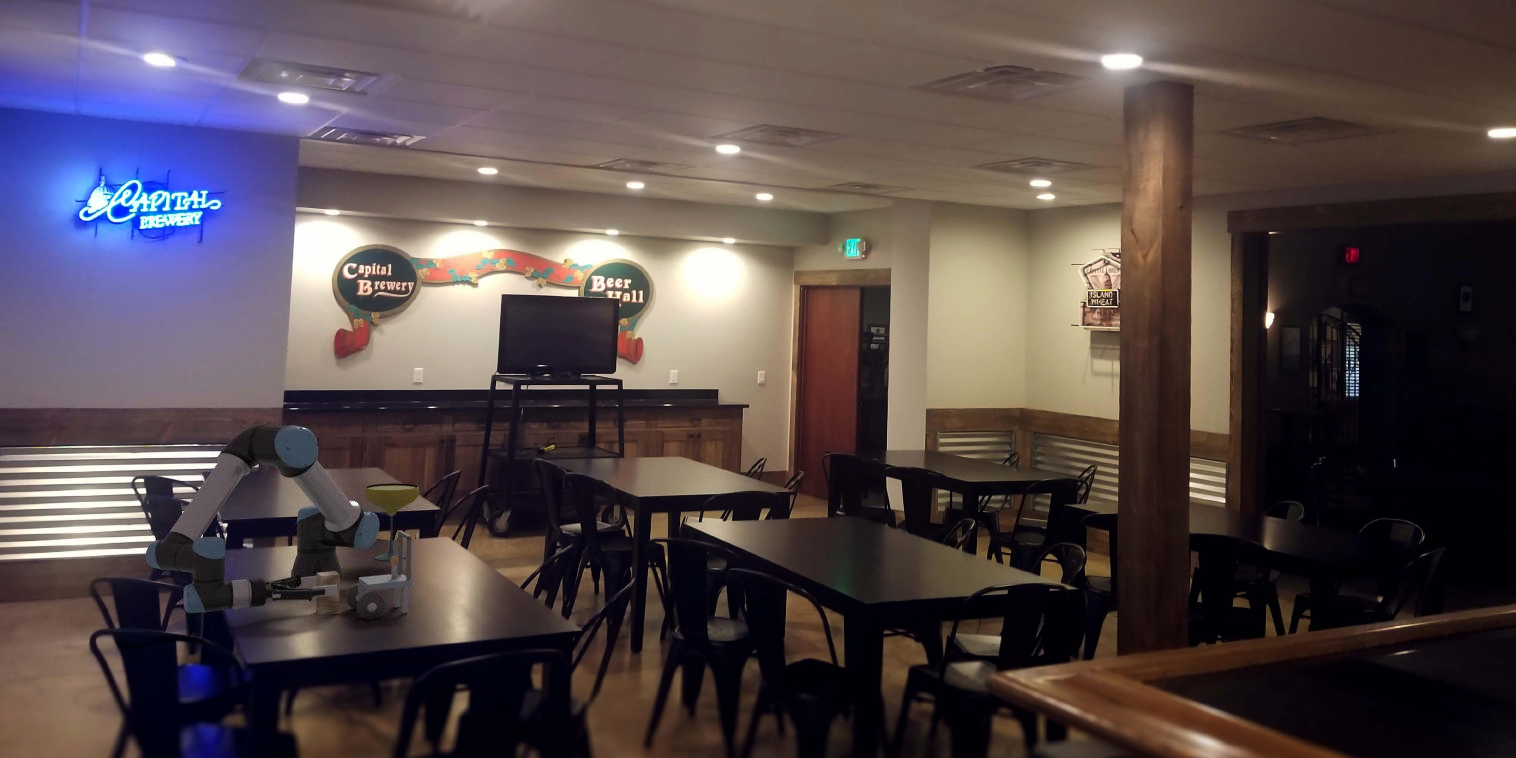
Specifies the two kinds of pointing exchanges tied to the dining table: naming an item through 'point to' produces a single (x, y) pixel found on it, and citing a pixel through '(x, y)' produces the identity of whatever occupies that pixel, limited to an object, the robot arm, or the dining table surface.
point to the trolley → (383, 586)
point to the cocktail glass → (391, 504)
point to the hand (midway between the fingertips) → (331, 584)
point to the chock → (328, 603)
